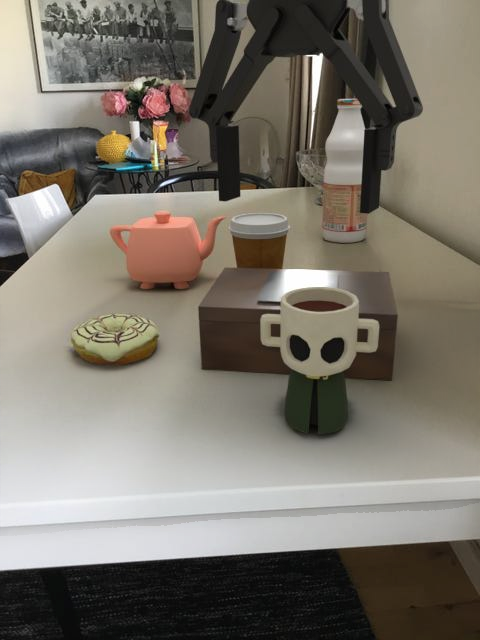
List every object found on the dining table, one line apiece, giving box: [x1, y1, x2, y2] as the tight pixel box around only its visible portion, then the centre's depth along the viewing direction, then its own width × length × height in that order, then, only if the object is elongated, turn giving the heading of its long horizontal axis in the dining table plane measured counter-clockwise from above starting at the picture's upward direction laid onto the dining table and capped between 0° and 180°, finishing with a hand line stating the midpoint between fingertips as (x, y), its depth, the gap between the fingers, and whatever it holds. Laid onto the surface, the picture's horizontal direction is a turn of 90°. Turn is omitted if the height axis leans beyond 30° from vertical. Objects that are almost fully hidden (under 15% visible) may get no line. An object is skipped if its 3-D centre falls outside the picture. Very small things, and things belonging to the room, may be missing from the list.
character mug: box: [260, 287, 379, 435], centre depth 54 cm, size 11×7×13 cm, turn 79°
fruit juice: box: [321, 98, 368, 244], centre depth 117 cm, size 9×9×28 cm
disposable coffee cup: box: [228, 212, 291, 269], centre depth 89 cm, size 10×10×12 cm
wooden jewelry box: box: [197, 266, 399, 381], centre depth 71 cm, size 22×15×8 cm
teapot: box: [109, 210, 228, 290], centre depth 96 cm, size 20×12×12 cm, turn 86°
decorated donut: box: [70, 312, 161, 366], centre depth 72 cm, size 10×11×4 cm
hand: (295, 204), depth 50 cm, fingers open, 13 cm apart
